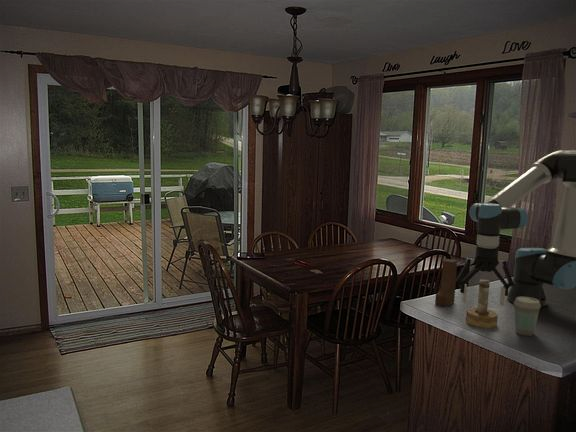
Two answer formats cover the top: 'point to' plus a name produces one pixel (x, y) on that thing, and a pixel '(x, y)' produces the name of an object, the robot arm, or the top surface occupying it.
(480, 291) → the wooden dowel
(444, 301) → the wooden block
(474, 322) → the tan faceted ring
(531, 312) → the coffee cup
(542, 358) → the top surface
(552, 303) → the top surface
